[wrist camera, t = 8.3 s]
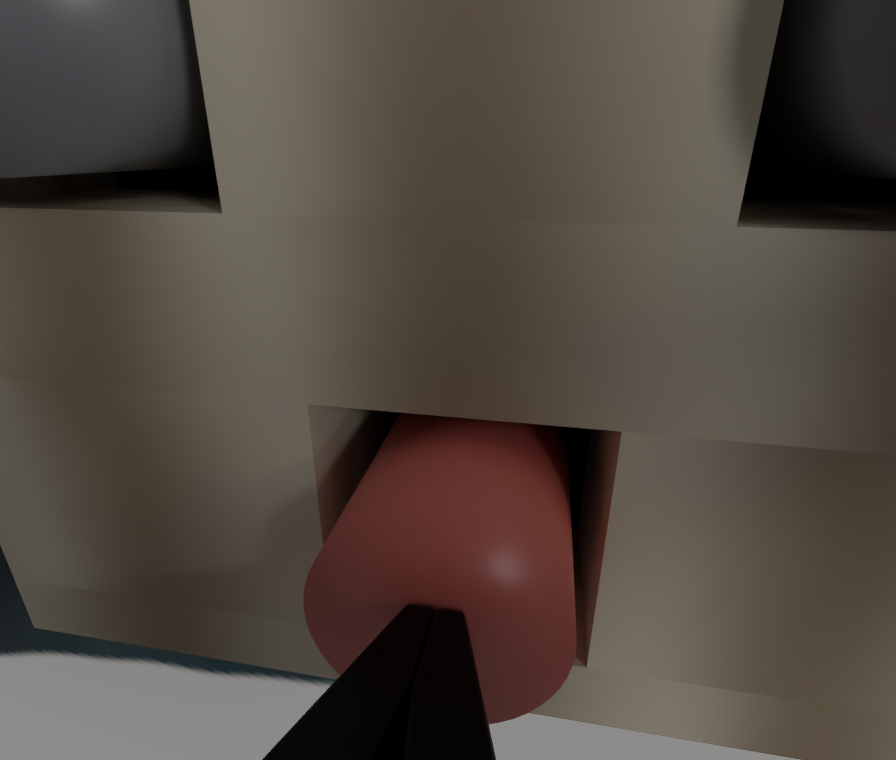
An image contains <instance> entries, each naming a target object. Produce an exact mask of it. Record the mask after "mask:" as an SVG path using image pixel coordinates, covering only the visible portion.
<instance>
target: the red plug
mask: <svg viewBox="0 0 896 760" xmlns="http://www.w3.org/2000/svg"><path fill="white" fill-rule="evenodd" d="M410 603H413V604H420V605H427V606H432V607H433V608H434V609H435V611H436V610H437V609H438V608H448V609H455V610H461V611H463V612H464V614H465V616H466V621H467V626H468V630H469V635H470V640H471V644H472V649H473V654H474V659H475V663H476V668H477V673H478V677H479V682H480V687H481V691H482V696H483V701H484V706H485V710H486V715H487V720H488V724H493V723H499V722H503V721H507V720H510V719H514V718H517V717H519V716H521V715H524V714H527V713H529V712H530V711H532V710H534V709H536V708H538V707H540V706H541V705H542V704H543V703H545V702H546V701H547V700H549V699H550V698H551V697H552V696H553V695H554V694H555V693H556V692H557V691H558V690H559V689H560V688H561V686H562V685H563V683H564V682H565V680H566V679H567V677H568V675H569V673H570V671H571V668H572V666H573V663H574V658H575V654H576V640H577V636H576V614H575V592H574V570H573V548H572V526H571V504H570V482H569V462H568V454H567V450H566V446H565V443H564V440H563V438H562V436H561V434H560V431H559V430H558V428H557V427H556V426H551V425H539V424H528V423H516V422H505V421H493V420H481V419H470V418H458V417H447V416H435V415H423V414H412V413H400V415H399V416H398V417H397V419H396V421H395V422H394V424H393V426H392V428H391V429H390V431H389V433H388V435H387V436H386V438H385V440H384V441H383V443H382V445H381V447H380V448H379V450H378V452H377V454H376V455H375V457H374V459H373V460H372V462H371V464H370V466H369V467H368V469H367V471H366V472H365V474H364V476H363V478H362V479H361V481H360V483H359V485H358V486H357V488H356V490H355V491H354V493H353V495H352V497H351V498H350V500H349V502H348V504H347V505H346V507H345V509H344V510H343V512H342V514H341V516H340V517H339V519H338V521H337V523H336V524H335V526H334V528H333V529H332V531H331V533H330V535H329V536H328V538H327V540H326V542H325V543H324V545H323V547H322V548H321V550H320V552H319V554H318V555H317V557H316V559H315V560H314V562H313V564H312V566H311V568H310V570H309V572H308V575H307V579H306V582H305V586H304V595H303V604H304V614H305V618H306V623H307V626H308V628H309V631H310V634H311V636H312V638H313V640H314V642H315V644H316V646H317V648H318V649H319V651H320V652H321V654H322V655H323V657H324V658H325V659H326V661H327V662H328V663H329V664H330V665H331V667H332V668H333V669H334V670H335V671H336V672H337V673H338V674H339V675H341V674H342V673H343V672H344V671H345V670H346V669H347V668H348V667H349V666H350V665H351V663H352V662H353V661H354V660H355V659H356V658H357V657H358V656H359V655H360V654H361V653H362V652H363V651H364V649H365V648H366V647H367V646H368V645H369V644H370V643H371V642H372V641H373V640H374V639H375V638H376V637H377V635H378V634H379V633H380V632H381V631H382V630H383V629H384V628H385V627H386V626H387V625H388V624H389V623H390V621H391V620H392V619H393V618H394V617H395V616H396V615H397V614H398V613H399V612H400V611H401V610H402V608H403V607H404V606H406V605H407V604H410Z"/></svg>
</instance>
